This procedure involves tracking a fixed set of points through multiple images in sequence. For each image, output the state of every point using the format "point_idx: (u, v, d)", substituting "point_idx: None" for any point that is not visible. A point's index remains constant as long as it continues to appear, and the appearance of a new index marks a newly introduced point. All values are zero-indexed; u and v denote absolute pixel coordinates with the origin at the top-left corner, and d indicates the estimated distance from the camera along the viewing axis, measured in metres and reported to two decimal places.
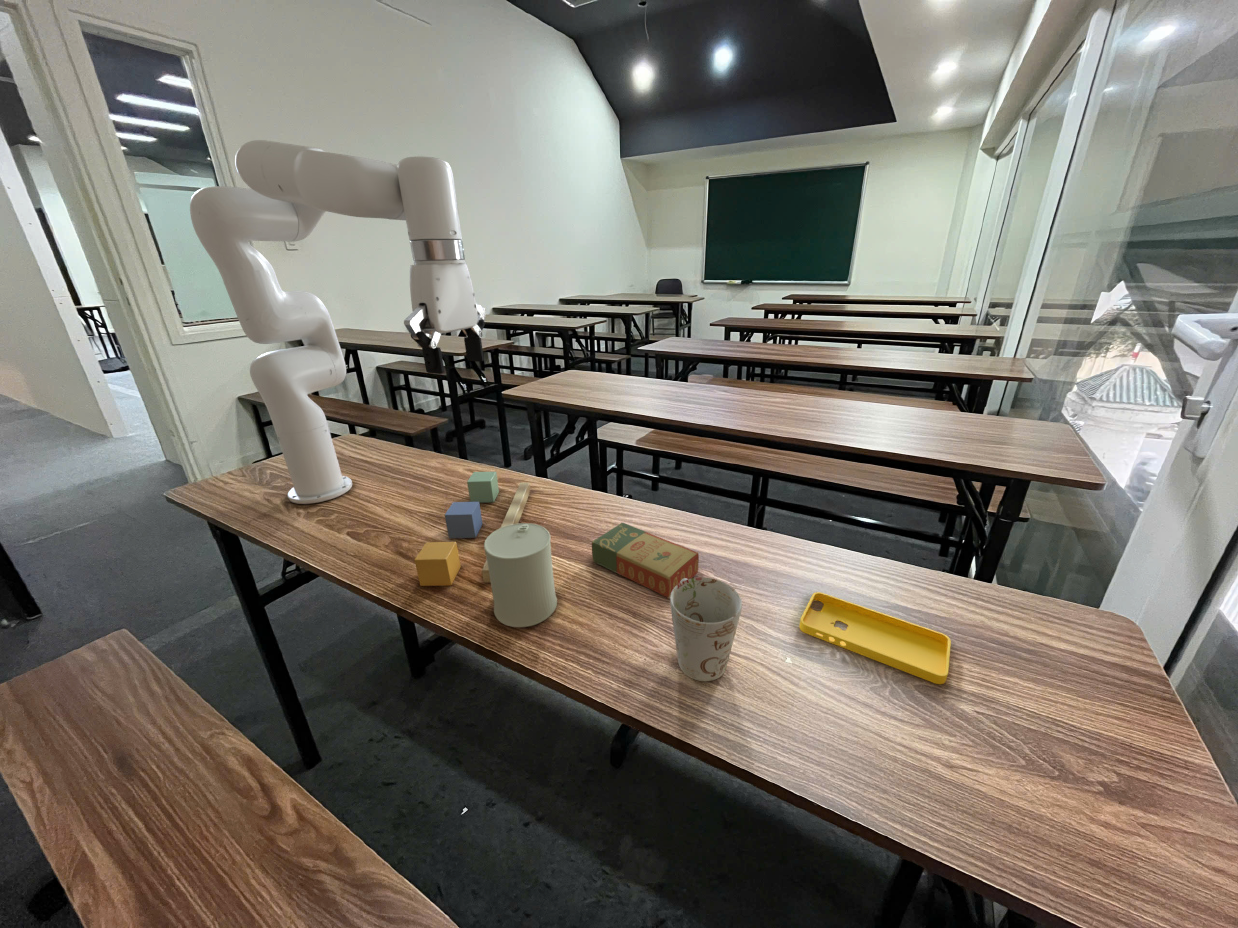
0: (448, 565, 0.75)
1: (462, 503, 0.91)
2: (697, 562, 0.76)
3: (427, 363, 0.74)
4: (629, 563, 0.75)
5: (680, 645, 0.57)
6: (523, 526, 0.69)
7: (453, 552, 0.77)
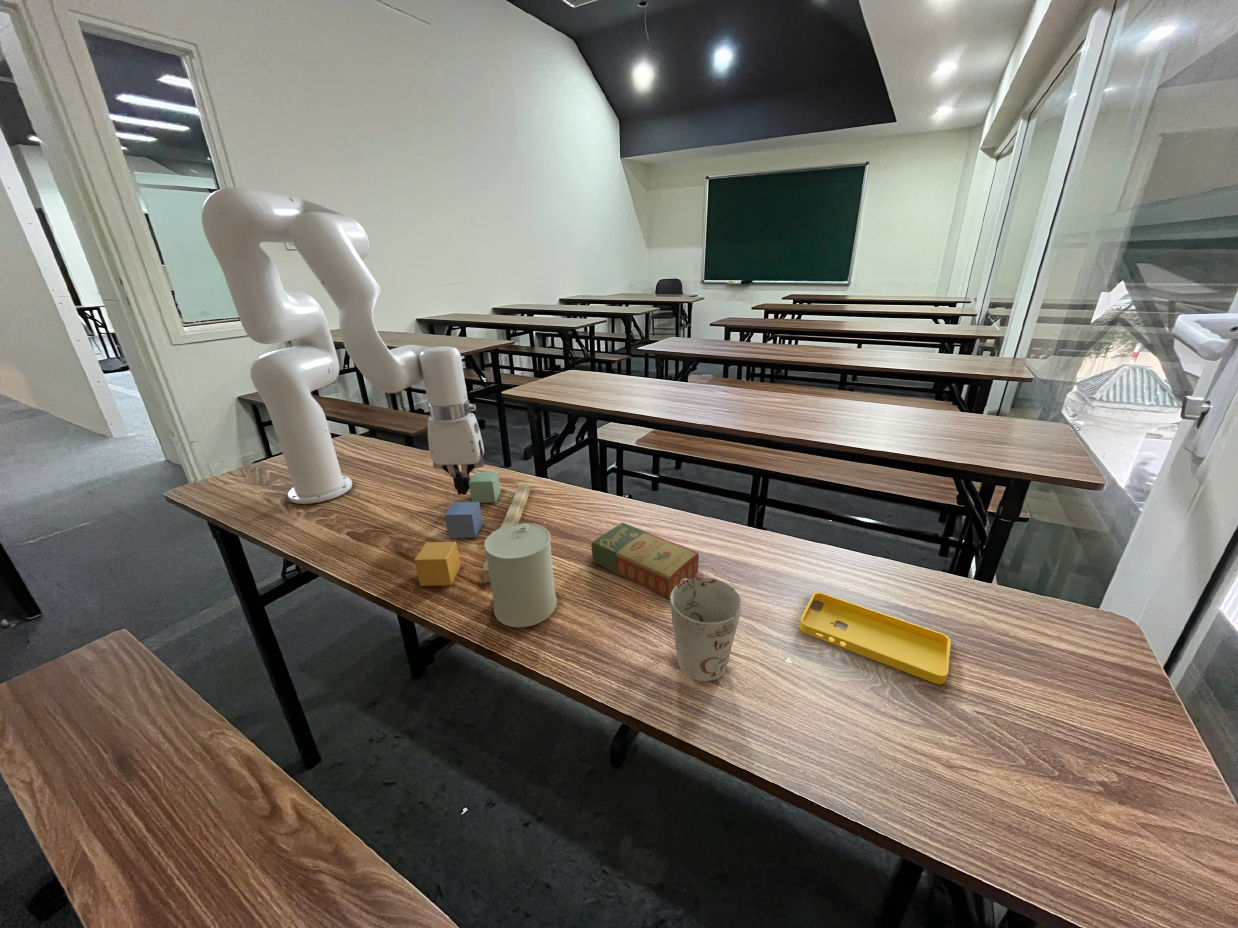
0: (448, 565, 0.75)
1: (462, 503, 0.91)
2: (697, 562, 0.76)
3: None
4: (629, 563, 0.75)
5: (680, 645, 0.57)
6: (523, 526, 0.69)
7: (453, 552, 0.77)
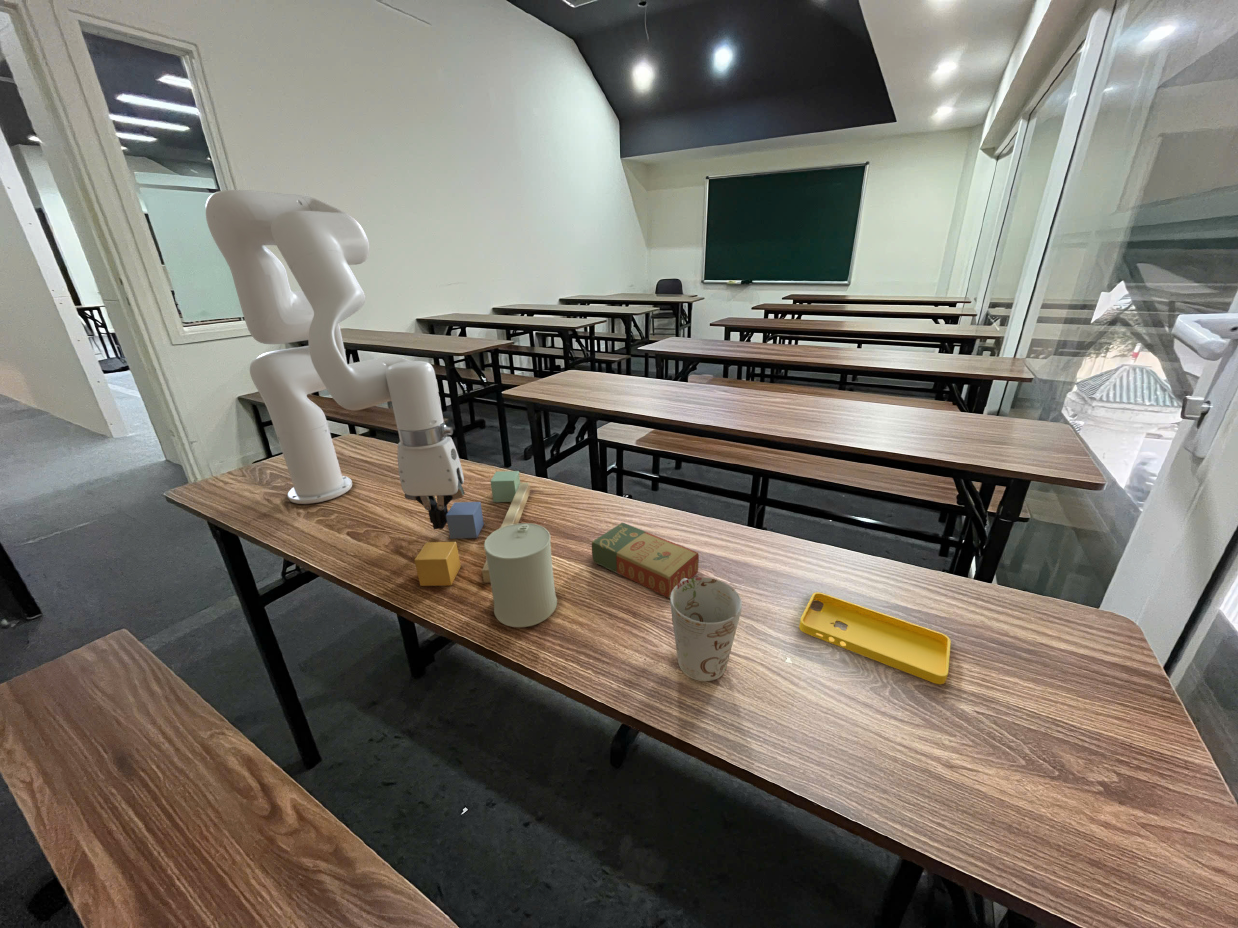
0: (448, 565, 0.75)
1: (463, 503, 0.91)
2: (697, 562, 0.76)
3: None
4: (629, 562, 0.75)
5: (680, 645, 0.57)
6: (523, 526, 0.69)
7: (453, 552, 0.77)
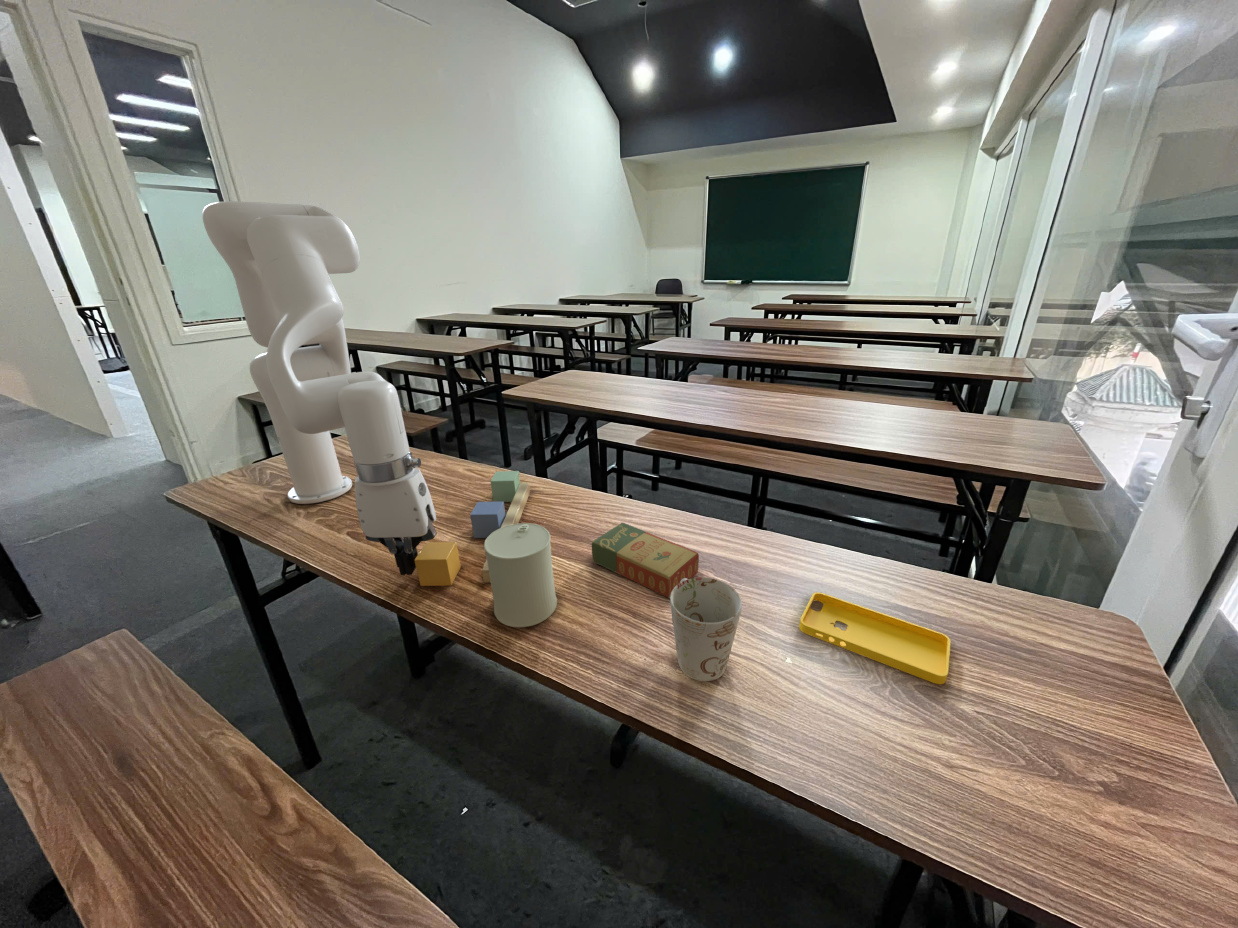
0: (448, 565, 0.75)
1: (487, 503, 0.91)
2: (697, 562, 0.76)
3: None
4: (629, 563, 0.75)
5: (680, 645, 0.57)
6: (523, 526, 0.69)
7: (453, 552, 0.77)
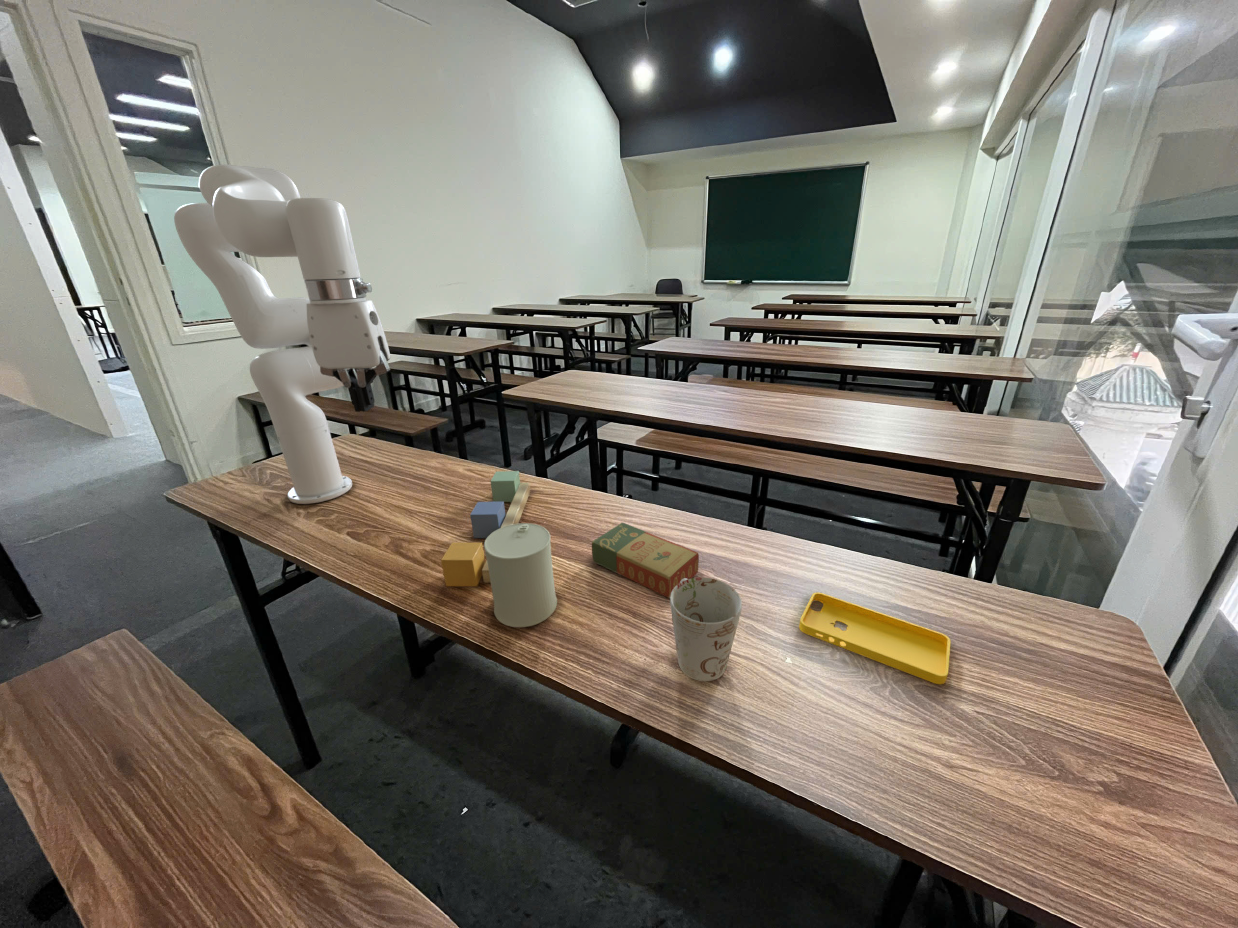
0: (474, 566, 0.74)
1: (487, 503, 0.91)
2: (697, 562, 0.76)
3: None
4: (629, 562, 0.75)
5: (680, 645, 0.57)
6: (523, 526, 0.69)
7: (479, 553, 0.77)
